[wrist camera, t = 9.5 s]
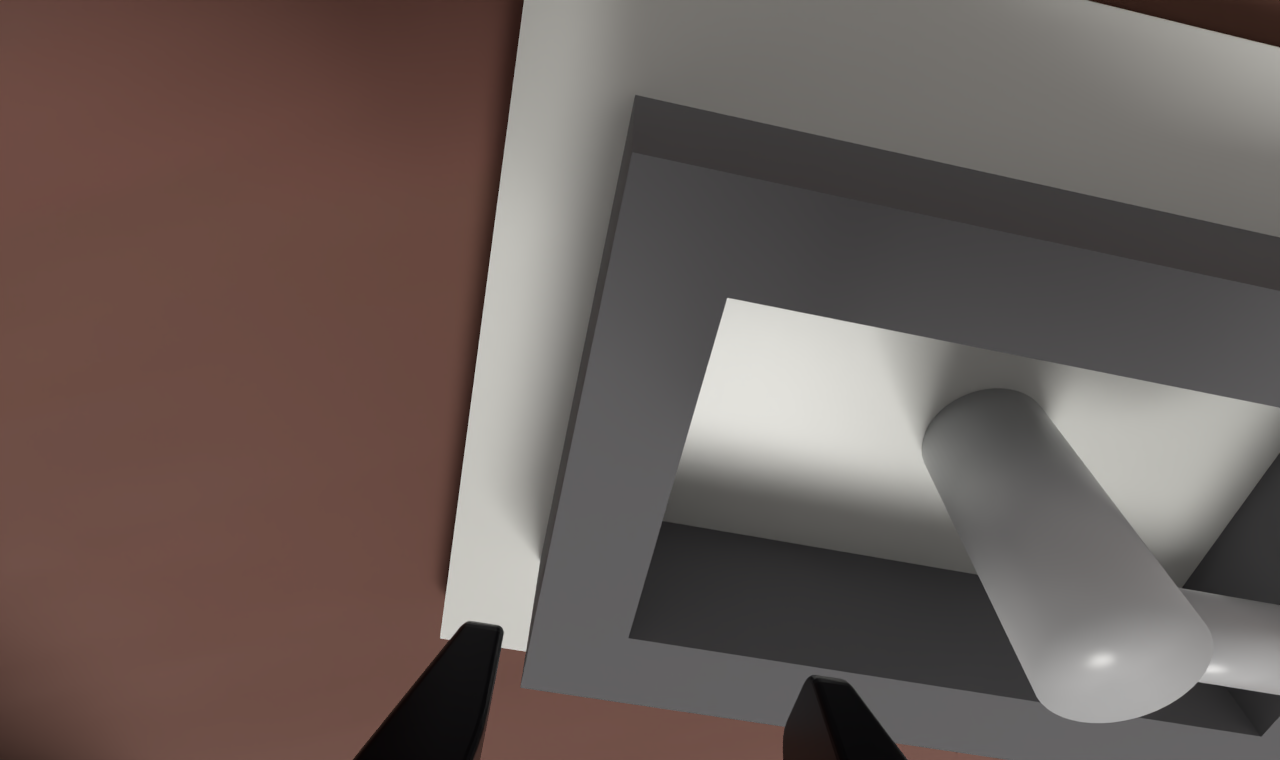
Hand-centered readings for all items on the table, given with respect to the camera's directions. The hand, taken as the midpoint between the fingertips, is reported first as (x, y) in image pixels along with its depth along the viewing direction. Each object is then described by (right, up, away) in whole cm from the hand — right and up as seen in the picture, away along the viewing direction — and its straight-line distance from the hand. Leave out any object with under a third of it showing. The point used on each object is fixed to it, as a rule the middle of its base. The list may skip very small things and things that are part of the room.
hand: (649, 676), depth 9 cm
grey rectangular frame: (+6, +2, +6) cm, 9 cm away
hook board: (+6, +3, +7) cm, 10 cm away
